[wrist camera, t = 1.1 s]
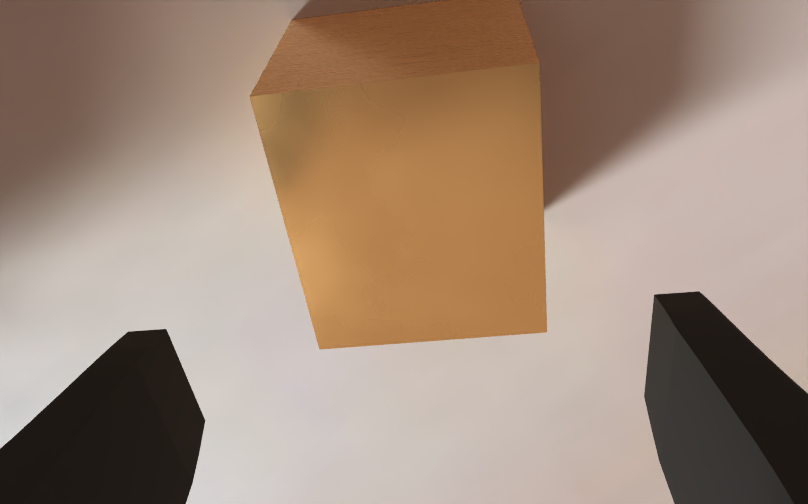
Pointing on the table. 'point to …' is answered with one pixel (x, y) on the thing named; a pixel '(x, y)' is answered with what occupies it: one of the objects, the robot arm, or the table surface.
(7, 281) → the table surface
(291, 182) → the block
